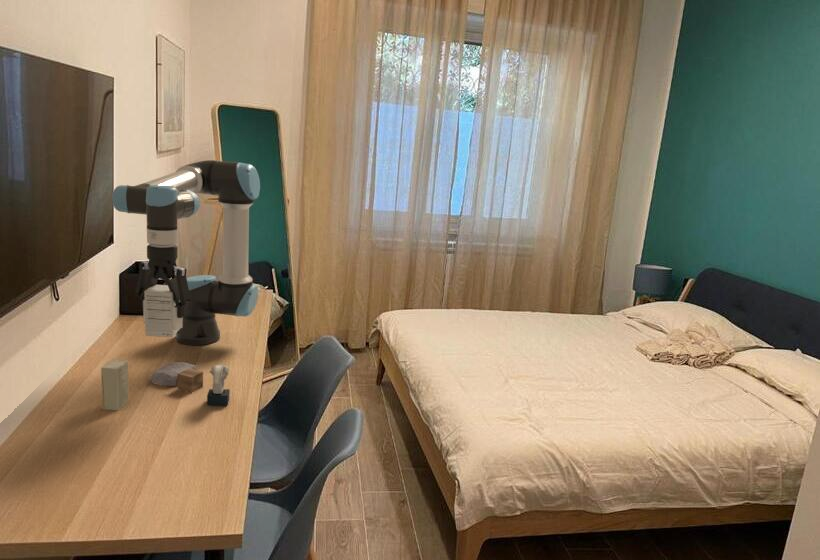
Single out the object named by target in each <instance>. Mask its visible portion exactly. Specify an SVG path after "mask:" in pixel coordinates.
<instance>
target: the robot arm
mask: <svg viewBox="0 0 820 560" xmlns="http://www.w3.org/2000/svg"><path fill="white" fill-rule="evenodd" d="M260 191H261V181H260V176H259V173H258V171H257V169H256V167H255V166H253V165H252V164H251V163H244V162H237V161H236V162H235V161H222V160H211V159H210V160H200V161H196V162H191V163H189V164H185V165H183V166H180V167H179V168H177V169H176V171H174V172H173V173H168V174H166V175H163V176H161V177H158V178H154V179H152V180H149V181H146V182H143V183H141V184H136V185H128V184H127V185H122V184H121V185H117V186H116V187H115V188H114V190H113V192H112V194H111V198H112V200H111V201H112V206H113V207H114V209H115V210H116V211H118V212H121V213H126V214H137V215H145V216H146V243H147V244H148V245H147V246H146V258H147V260H143V261H139V262H138V269H139V271H138V276H137V282H136V287H135V289H134V295H135V297H139V298H140V300H141V310H142V311H143V315H142V316H143V324H145V293H144V291H145V290H147V289H148V288H149V287H152V286H155V285H157V283H158V281H159V280H162V281H163V282H164V283H165V284H166V285H168V287H169V290H170V292H173V299H174V302H175V304H176V305H175V306H173V330H178V329H179V331H178V332H177V333H176V334H175V338H176V339H175V340H176V341H177V342H179V343H181V344H184V345H188V346H189V345H190V346H203V345H210V344H214V343H216V342H218V341H220V339H221V331H220V329H219V326H218V322H217V319H216V314H218V315H224V316H225V315H227V316H234V317H249V316H250V315H251V314H253V312H254V310H255V308H256V306H257V303H258V300H259V287H258V286H257V285H256V284H253V283H254V282H253V277H252V276H251V275H250V274H249V248H250V246H249V244H250V243H249V242H250V241H249V240H250V239H249V236H250V235H249V234H250V233H249V232H250V230H249V229H250V226H249V225H250V207H252V206H253V205H254V200H257V199H258V198H259V195H260ZM197 194H202V195H210V196H211V195H212V196H217V198H218V204H219V205H220V206H222V274H221V275H220V276H219V278H218V280H217V277H216V276H215V275H213V274H200V275H194V276H193V275H192V276H190V277H189V276H188V277H187V271H188V270H187V268H186V267H180V266H178V265H177V259H178V255H179V253H178V249H179V248H178V246H177V244H178V243H179V242H178V241H179V240H178V239H179V237H178V234H179V233H178V220H180V219H186V218H190V217H191V216H194V215H195V214H197V212H198V211H199V209H200V206H201V205H200V203H201V202H200V198H199V197H198V195H197ZM179 301H180V302H179Z"/></svg>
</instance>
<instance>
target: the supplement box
mask: <svg viewBox="0 0 820 560" xmlns="http://www.w3.org/2000/svg"><path fill="white" fill-rule="evenodd" d="M144 293H145V323H144V328H145V329H144V331H145V336H146V337H159V338H160V337H161V338H173V337H175V336H176V333H177V332H178V331H179V329H178V330H173V306H175V305H176V304H175V302H174V299H173V292H170V290H169V287H168V285H167V284H166V285H165V284H156V285H155V286H152V287H149V288H148V289H147V290H145V291H144ZM179 302H180V301H179Z"/></svg>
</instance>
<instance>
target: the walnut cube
mask: <svg viewBox="0 0 820 560" xmlns="http://www.w3.org/2000/svg"><path fill="white" fill-rule="evenodd" d="M201 388H202V389H203V388H204V371H201V370H198V369H196V370H194V369H190V368H189V369H187V370H184V371H182V372H180V373H178V386H177V390H178V389H179V390H178V391H182V392H186V391H187V392H186V393H191V394H192V392H193V393H194V392H196V391H198V390H200V389H201Z"/></svg>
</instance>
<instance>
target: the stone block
mask: <svg viewBox="0 0 820 560" xmlns="http://www.w3.org/2000/svg"><path fill="white" fill-rule="evenodd" d="M189 368H190V369H194V370H197V366H196V365H194V364H191V363H187V362H183V361H182V362H181V361H178V362H170V363H166V364H165V365H163V366H161V367H160V368H158V370H156V371H154V372H152V373H151V374H150V380H151V383H152V384H155V383H156V385H158V384H161V386H167V385H168V387H178V373H180V372H182V371H184V370H187V369H189Z"/></svg>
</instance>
